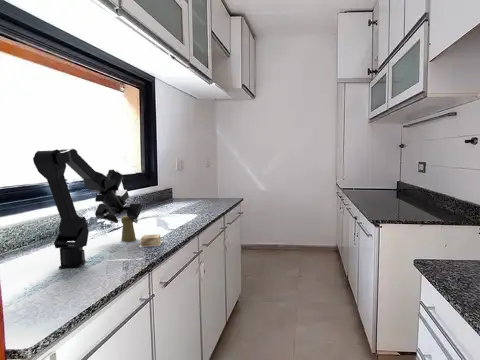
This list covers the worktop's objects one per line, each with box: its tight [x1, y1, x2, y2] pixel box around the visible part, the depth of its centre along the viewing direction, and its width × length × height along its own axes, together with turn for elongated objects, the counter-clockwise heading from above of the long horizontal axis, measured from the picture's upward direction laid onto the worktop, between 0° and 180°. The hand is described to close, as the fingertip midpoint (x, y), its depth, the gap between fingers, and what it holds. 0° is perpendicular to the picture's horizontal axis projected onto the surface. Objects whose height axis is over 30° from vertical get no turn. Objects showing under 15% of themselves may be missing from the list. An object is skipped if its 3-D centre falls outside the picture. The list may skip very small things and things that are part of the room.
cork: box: [120, 215, 137, 243], centre depth 154 cm, size 6×6×11 cm
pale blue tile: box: [138, 240, 163, 248], centre depth 146 cm, size 12×11×1 cm
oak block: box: [140, 233, 162, 247], centre depth 146 cm, size 6×6×3 cm
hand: (127, 222), depth 154 cm, fingers open, 9 cm apart
